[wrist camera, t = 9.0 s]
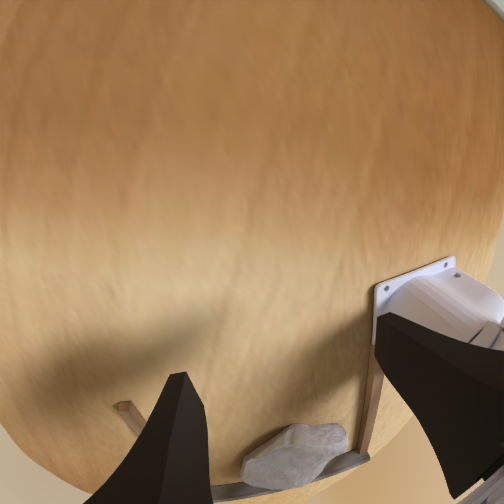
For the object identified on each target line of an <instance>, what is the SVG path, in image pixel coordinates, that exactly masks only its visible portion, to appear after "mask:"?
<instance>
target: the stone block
mask: <svg viewBox="0 0 504 504" xmlns="http://www.w3.org/2000/svg"><path fill="white" fill-rule="evenodd" d="M347 447H348V439H347V435H346V430H345V429H344V428H343V427H342V426H340V425H338V424H323V425H316V426H311V425H306V424H292V425H290V426H288V427H286V428H285V429H284V430H283V431H282V432H280V433H279V434H277V435H275V436H274V437H273V438H272V439H271V440H269V441H267V442H266V443H264V444H262V445H260V446H259V447H258V448H256V449H255V450H253V451H252V452H251V453H249V454H248V455H246V456H245V457H244V458H243V463H242V467H241V470H240V477H241V478H242V481H243V482H245V483H247V484H249V485H251V486H254V487H261V488H267V489H271V490H274V489H282V490H287V489H292V488H298V487H302V486H304V485H307V484H309V483H310V482H311V481H312V480H314V479H315V478H316V477H317V476H318V475H319V474H320V473H321V472H322V470H323V469H324V467H325V465H326V464H327V463H328V462H329V461H330V460H331V459H333V458H334V457H335V456H337V455H340V454H343V453H344V452H345V451H346V450H347Z"/></svg>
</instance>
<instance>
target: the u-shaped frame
mask: <svg viewBox="0 0 504 504" xmlns="http://www.w3.org/2000/svg"><path fill="white" fill-rule="evenodd" d="M374 350H375V345H373V344H372V341H371V343H370V356H369V368H368V377H367V386H366V394H365V402H364V409H363V415H362V421H361V427H360V433H359V438H358V443H357V448H356V449H354V450H352V451H350V452H347V453H344V454H342V455H339V456H337V457H334V458H333V459H331V460H330V461H329V462H328V463H327V464H326V465H325V467H324V469H323V470H322V472H321V473H320V474H319V475H318V476H317V477H316V478H315V479H314V480H312V481H311V482H310V483H312V482H315V481H318V480H321V479H324V478H327V477H330V476H333V475H336V474H338V473H341V472H344V471H346V470H349V469H351V468H354V467H356V466H359V465H361V464H363V463H366V462H368V461H369V460H370V456H369V454H368V452H367V450H368V446H369V443H370V439H371V435H372V431H373V427H374V423H375V418H376V414H377V409H378V405H379V400H380V395H381V389H382V384H383V378H384V373H383V371H382V369H381V367H380V366H379V364H378V362H377V360H376V358H375V356H374ZM118 412H119V414H120V415H121V416H122V417H123V419H124V420H125V421H126V422H127V423H128V425H129V426H130V427H131V428H132V429H133V430H134V432H135V433H136V434H137V435H138V436H139V435H140V433H141V432H142V430H143V428H144V426H145V425H146V423H147V422H146V420H145V419H144V418H143V416H142V415H141V414H140V413H139V411H138V410H137V409H136V407H135V406H134V405H133V403H132V402H131V401H124V402H120V403H119V408H118ZM210 489H211V494H212V499H213V503H215V502H224V501H231V500H238V499H244V498H250V497H256V496H261V495H266V494H270V493H275V492H279V491H283V490H282V489H274V490H271V489H267V488H261V487H254V486H251V485H249V484H247V483H245V482H240V483H233V484H227V485H220V486H211V487H210Z"/></svg>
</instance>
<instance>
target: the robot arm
mask: <svg viewBox="0 0 504 504" xmlns="http://www.w3.org/2000/svg"><path fill="white" fill-rule="evenodd" d="M386 286H387V287H386ZM385 287H386V288H385ZM384 288H385V289H384ZM372 344H373V345H375V350H374V356H375V358H376V360H377V362H378V364H379V366H380V367H381V369H382V371H383V373H384V374H385V376H386V377H387V378H388V380H389V381H390V382H391V384H392V385H393V386H394V388H395V389H396V390H397V392H398V393H399V394H400V396H401V397H402V398H403V400H404V401H405V402H406V404H407V405H408V406H409V407H410V409H411V410H412V411H413V413H414V414H415V416H416V417H417V419H418V420H419V422H420V424H421V426H422V428H423V429H424V431H425V433H426V435H427V437H428V439H429V441H430V443H431V445H432V447H433V449H434V451H435V453H436V455H437V458H438V461H439V463H440V465H441V468H442V471H443V473H444V476H445V479H446V482H447V486H448V489H449V493H450V494H451V496H452V498H453V499H456V498H457V497H458V496H460V495H461V494H463V493H464V492H465V491H466V490H468V489H469V488H470V487H471V486H473V485H474V484H475V483H476V482H478V481H479V480H480V479H481V478H483V480H484V481H485V482H484V483H483V484H481V485H480V486H479V487H478V488H477V489H476V490H475V491H473V492H472V493H470V494H469V495H468V496H467V497H465V498H464V499H463V500H462V501H460V502H459V503H457V504H504V301H503V299H502V298H501V296H500V295H499V294H498V293H497V292H495V291H494V290H493V289H491V288H490V287H488V286H487V285H485V284H483V283H482V282H480V281H478V280H477V279H475V278H474V277H472V276H470V275H469V274H467V273H465V272H463V271H462V270H460V269H458V268H457V267H455V257H453V256H449V257H447V258H444V259H442V260H439V261H437V262H434V263H432V264H429V265H427V266H424V267H422V268H419V269H416V270H414V271H411V272H409V273H406V274H403V275H401V276H398V277H395V278H392V279H390V280H387V281H384V282H381V283H379V284H377V285H376V286H375V289H374V315H373V334H372ZM83 504H213V499H212V494H211V489H210V479H209V457H208V429H207V422H206V416H205V409H204V405H203V403H202V401H201V399H200V398H199V396H198V394H197V392H196V390H195V388H194V386H193V384H192V382H191V380H190V378H189V376H188V374H187V372H181V373H175V374H170V376H169V377H168V379H167V381H166V384H165V386H164V388H163V390H162V392H161V395H160V397H159V399H158V401H157V403H156V405H155V407H154V409H153V411H152V413H151V415H150V417H149V419H148V421H147V423H146V425H145V426H144V428H143V430H142V432H141V433H140V435H139V437H138V438H137V440H136V442H135V444H134V445H133V447H132V448H131V450H130V451H129V453H128V454H127V456H126V457H125V458H124V460H123V461H122V463H121V464H120V465H119V466H118V468H117V469H116V470H115V471H114V473H113V474H112V475H111V476H110V477H109V479H108V480H107V481H106V482H105V483H104V484H103V485H102V486H101V487H100V488H99V489H98V490H97V491H96V492H95V493H94V494H93V495H92V496H91V497H90V498H89V499H88V500H87V501H86V502H84V503H83Z"/></svg>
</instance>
